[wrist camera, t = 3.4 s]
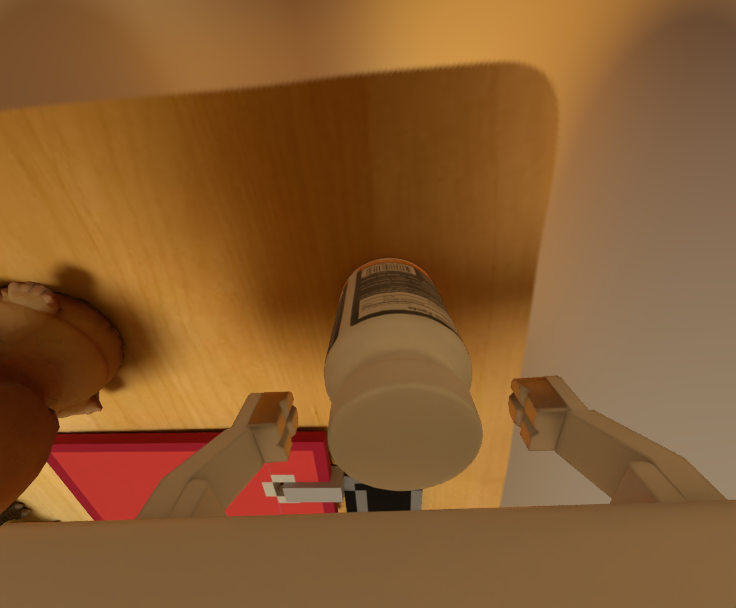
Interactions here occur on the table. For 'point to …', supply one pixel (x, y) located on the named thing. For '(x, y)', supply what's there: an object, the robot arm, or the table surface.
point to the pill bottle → (398, 382)
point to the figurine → (46, 375)
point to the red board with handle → (168, 450)
